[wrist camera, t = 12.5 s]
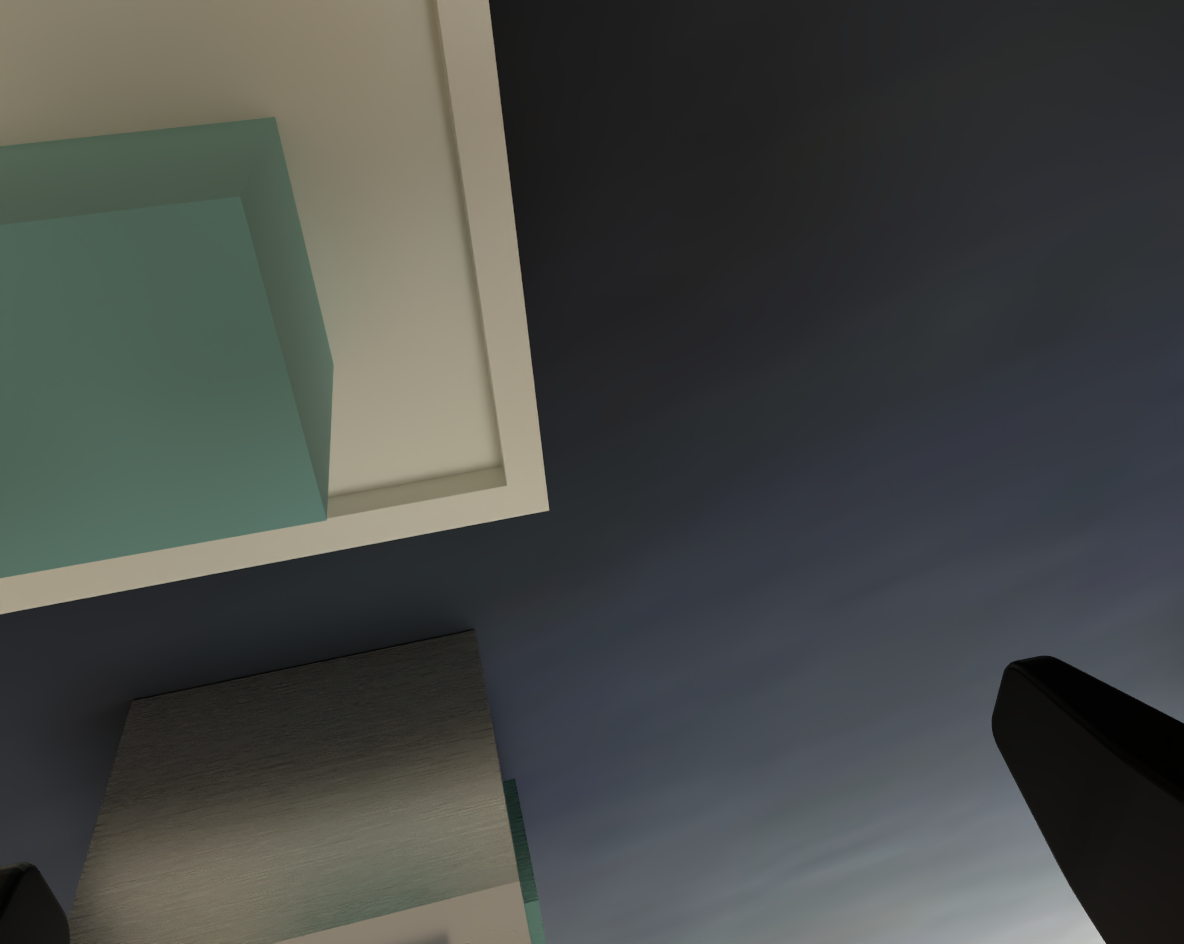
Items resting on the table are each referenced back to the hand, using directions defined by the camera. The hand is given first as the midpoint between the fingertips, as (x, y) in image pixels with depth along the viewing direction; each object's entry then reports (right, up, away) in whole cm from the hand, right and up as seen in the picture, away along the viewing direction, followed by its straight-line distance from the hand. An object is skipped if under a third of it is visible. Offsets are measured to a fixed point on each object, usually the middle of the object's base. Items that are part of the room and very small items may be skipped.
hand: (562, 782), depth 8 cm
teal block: (-7, +6, +7) cm, 12 cm away
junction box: (-6, -6, +16) cm, 18 cm away
